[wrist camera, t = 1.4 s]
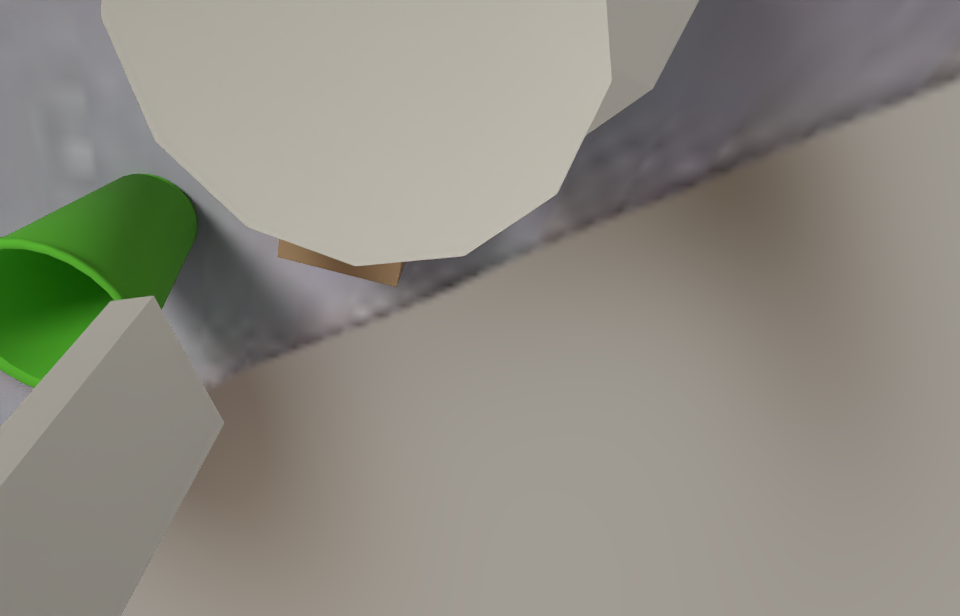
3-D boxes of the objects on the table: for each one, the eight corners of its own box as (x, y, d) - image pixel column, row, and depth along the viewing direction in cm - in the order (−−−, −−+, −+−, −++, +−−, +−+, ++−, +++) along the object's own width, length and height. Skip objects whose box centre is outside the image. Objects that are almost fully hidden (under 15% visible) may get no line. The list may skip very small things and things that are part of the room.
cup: (53, 137, 41) (-93, 238, 32) (211, 138, 40) (106, 242, 31) (107, 276, 46) (-6, 395, 37) (248, 280, 45) (167, 403, 36)
